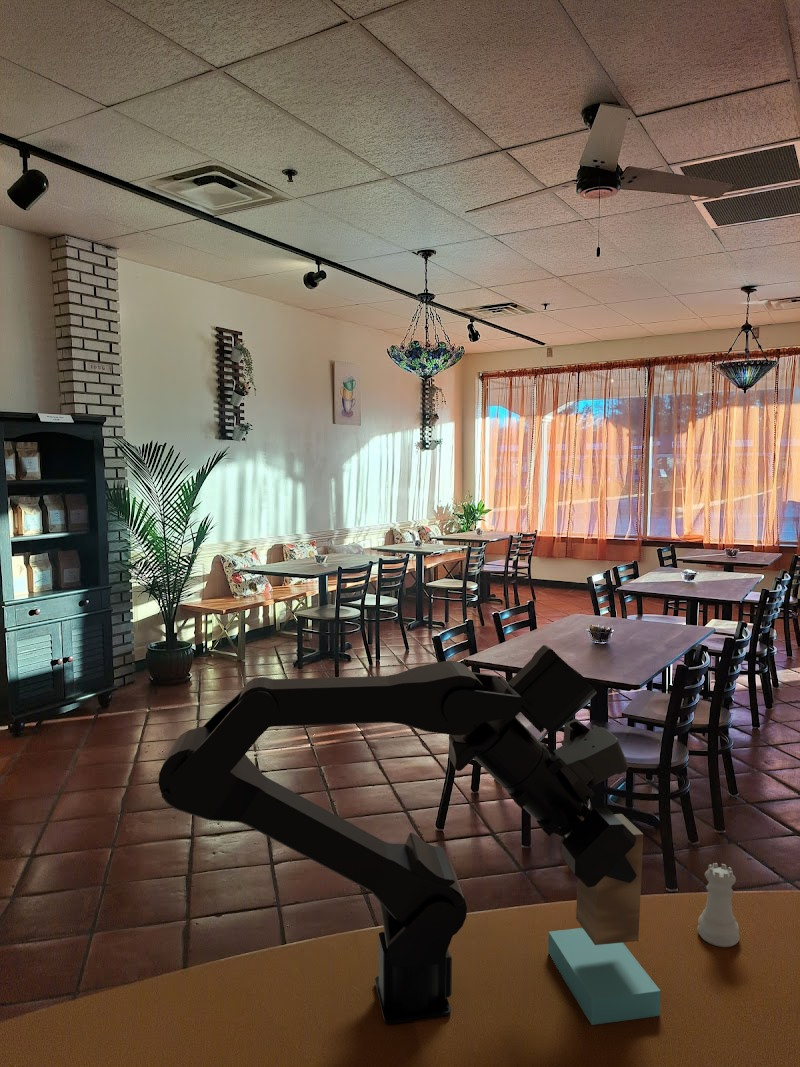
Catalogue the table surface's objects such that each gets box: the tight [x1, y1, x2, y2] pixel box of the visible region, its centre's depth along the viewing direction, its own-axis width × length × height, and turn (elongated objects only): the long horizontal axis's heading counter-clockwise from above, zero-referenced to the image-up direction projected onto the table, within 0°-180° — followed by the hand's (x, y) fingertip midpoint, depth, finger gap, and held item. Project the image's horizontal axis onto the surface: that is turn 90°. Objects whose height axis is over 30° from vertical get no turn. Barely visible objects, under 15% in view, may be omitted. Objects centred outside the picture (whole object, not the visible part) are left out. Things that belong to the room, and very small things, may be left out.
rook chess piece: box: [696, 862, 741, 948], centre depth 86 cm, size 4×4×8 cm
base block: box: [547, 927, 662, 1026], centre depth 78 cm, size 7×11×2 cm, turn 11°
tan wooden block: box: [575, 813, 644, 945], centre depth 78 cm, size 5×5×11 cm
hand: (622, 866), depth 78 cm, fingers closed on tan wooden block, 5 cm apart
